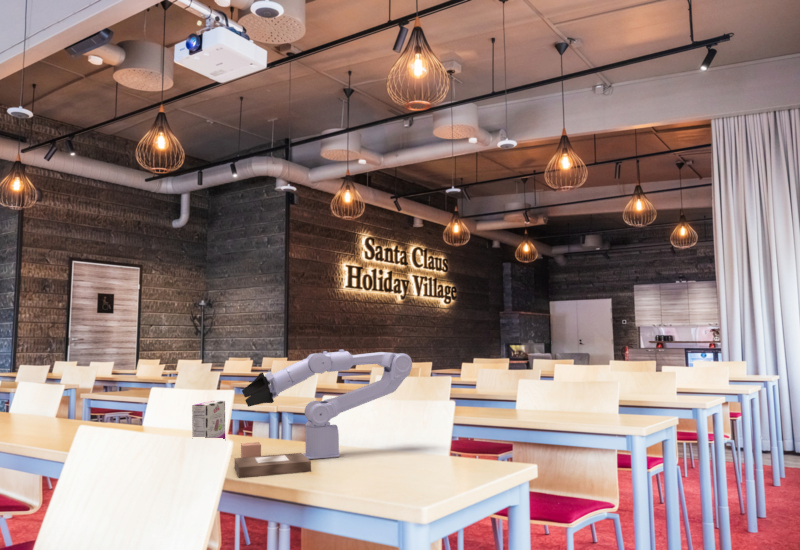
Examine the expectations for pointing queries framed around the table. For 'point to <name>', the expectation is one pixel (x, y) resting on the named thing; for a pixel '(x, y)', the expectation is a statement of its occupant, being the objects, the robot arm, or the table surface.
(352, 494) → the table surface
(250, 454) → the terracotta cube
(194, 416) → the candy bar box
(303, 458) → the walnut plinth
